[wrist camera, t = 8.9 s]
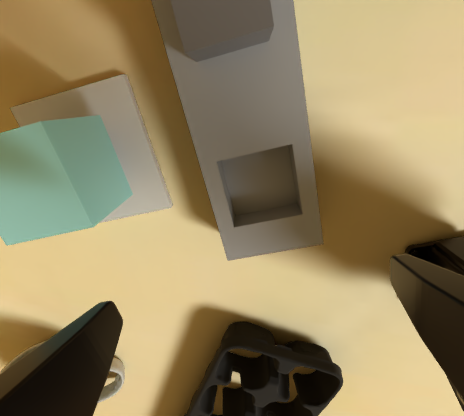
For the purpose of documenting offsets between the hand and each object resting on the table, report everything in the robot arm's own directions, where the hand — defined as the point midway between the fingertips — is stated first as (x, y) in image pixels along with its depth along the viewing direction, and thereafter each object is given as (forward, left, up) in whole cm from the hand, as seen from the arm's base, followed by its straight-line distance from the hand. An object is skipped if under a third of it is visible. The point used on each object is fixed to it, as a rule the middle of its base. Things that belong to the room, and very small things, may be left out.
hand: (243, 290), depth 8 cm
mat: (+4, +11, -13) cm, 17 cm away
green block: (+4, +11, -12) cm, 17 cm away
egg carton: (-29, +7, -14) cm, 33 cm away
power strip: (+5, -1, -13) cm, 14 cm away
